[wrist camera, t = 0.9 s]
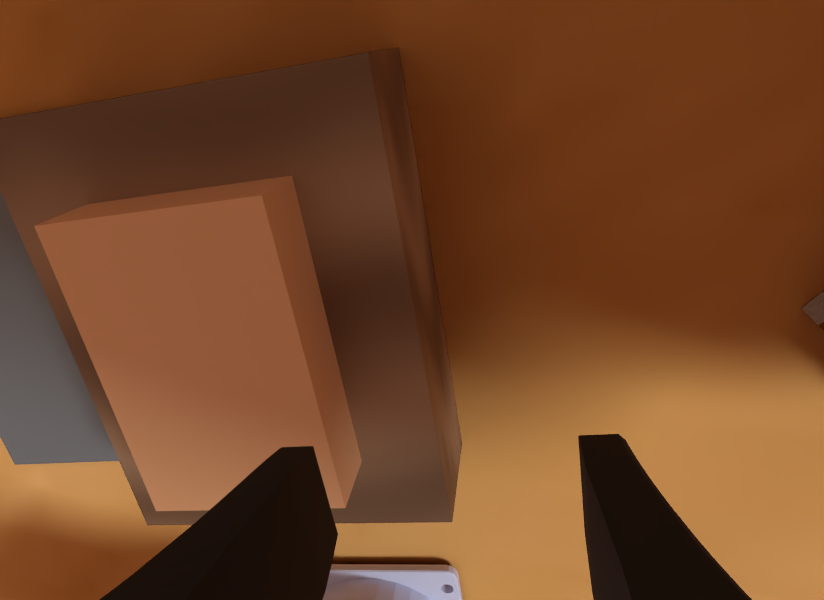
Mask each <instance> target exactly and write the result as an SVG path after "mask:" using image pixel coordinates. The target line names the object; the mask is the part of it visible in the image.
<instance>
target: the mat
mask: <svg viewBox="0 0 824 600" xmlns="http://www.w3.org/2000/svg"><path fill="white" fill-rule="evenodd" d="M0 437H1V439H2V441H3V443H4V445H5V446H6V448H7V450H8V452H9V454H10V456H11V458H12V460H13V462H14V464H43V463H71V462H98V461H119V459H118V457H117V455H116V452H115V450H114V448H113V446H112V443H111V441H110V439H109V437H108V434H107V432H106V430H105V427H104V425H103V423H102V421H101V418H100V416H99V414H98V412H97V409H96V407H95V405H94V403H93V400H92V398H91V396H90V393H89V391H88V389H87V387H86V384H85V382H84V380H83V378H82V375H81V373H80V371H79V368H78V366H77V364H76V362H75V359H74V357H73V355H72V353H71V350H70V348H69V346H68V344H67V341H66V339H65V337H64V334H63V332H62V330H61V328H60V325H59V323H58V321H57V319H56V316H55V314H54V312H53V309H52V307H51V305H50V303H49V300H48V298H47V296H46V294H45V291H44V289H43V287H42V285H41V282H40V280H39V278H38V275H37V273H36V271H35V269H34V266H33V264H32V262H31V260H30V257H29V255H28V253H27V251H26V248H25V246H24V244H23V241H22V239H21V237H20V235H19V232H18V230H17V228H16V226H15V223H14V221H13V219H12V216H11V214H10V212H9V210H8V207H7V205H6V203H5V201H4V198H3V196H2V194H1V192H0Z"/></svg>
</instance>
